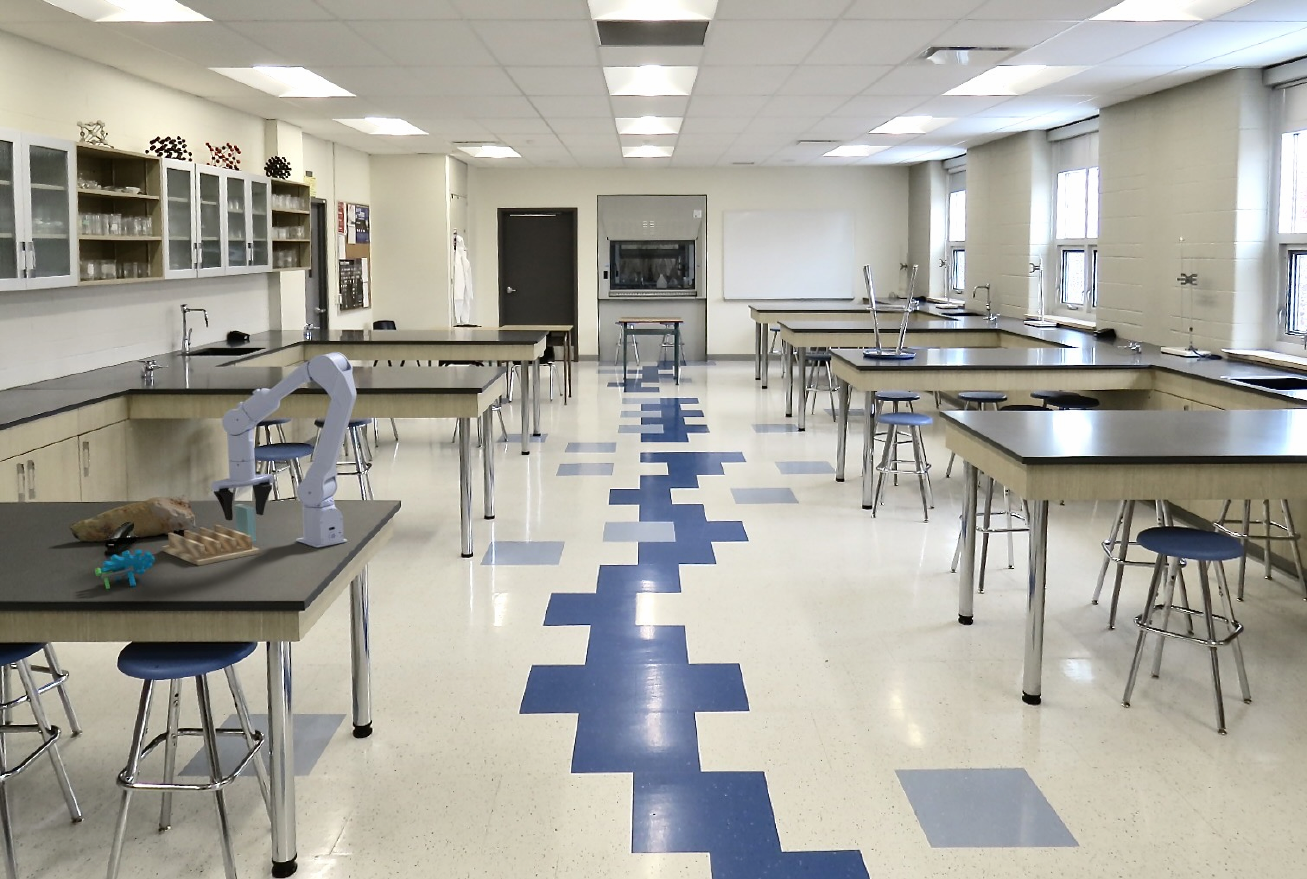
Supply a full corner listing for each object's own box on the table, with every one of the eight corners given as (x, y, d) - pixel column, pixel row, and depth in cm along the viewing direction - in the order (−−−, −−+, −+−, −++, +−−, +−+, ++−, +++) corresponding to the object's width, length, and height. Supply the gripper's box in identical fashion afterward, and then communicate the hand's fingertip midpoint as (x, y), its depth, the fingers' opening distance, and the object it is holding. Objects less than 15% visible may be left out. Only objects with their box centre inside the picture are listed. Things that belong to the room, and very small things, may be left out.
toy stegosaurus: (155, 566, 234) (151, 541, 226) (161, 590, 231) (157, 566, 223) (97, 580, 229) (91, 555, 221) (103, 605, 226) (97, 581, 218)
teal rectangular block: (256, 541, 261) (254, 507, 260) (248, 542, 260) (246, 508, 259) (243, 536, 265) (241, 503, 264) (236, 538, 264) (234, 505, 263)
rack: (259, 553, 250) (258, 535, 250) (198, 565, 240) (197, 547, 240) (221, 539, 263) (220, 522, 262) (162, 550, 252) (160, 533, 252)
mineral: (68, 512, 253) (65, 510, 261) (74, 552, 253) (72, 549, 262) (192, 492, 266) (186, 491, 275) (198, 530, 267) (192, 528, 275)
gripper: (262, 453, 268) (264, 509, 270) (203, 461, 257) (206, 519, 259) (277, 457, 263) (279, 514, 265) (217, 465, 252) (220, 524, 255)
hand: (244, 517), depth 262 cm, fingers open, 7 cm apart
